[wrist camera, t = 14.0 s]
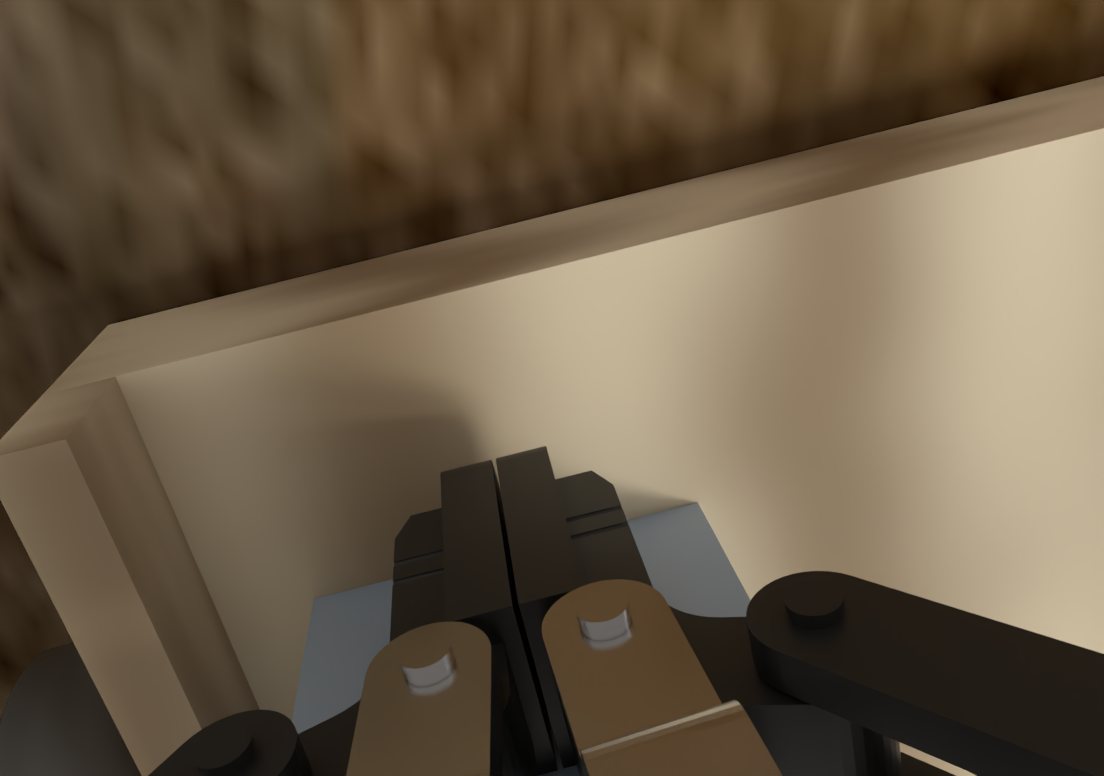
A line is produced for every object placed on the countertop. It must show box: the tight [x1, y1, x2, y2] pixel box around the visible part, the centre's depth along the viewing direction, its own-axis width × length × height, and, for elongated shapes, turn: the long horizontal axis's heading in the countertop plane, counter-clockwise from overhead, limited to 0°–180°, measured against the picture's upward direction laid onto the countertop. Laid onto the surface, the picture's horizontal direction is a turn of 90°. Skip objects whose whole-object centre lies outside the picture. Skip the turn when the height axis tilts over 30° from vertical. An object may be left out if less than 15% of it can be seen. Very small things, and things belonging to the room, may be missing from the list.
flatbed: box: [0, 76, 1104, 776], centre depth 17 cm, size 27×18×5 cm, turn 102°
